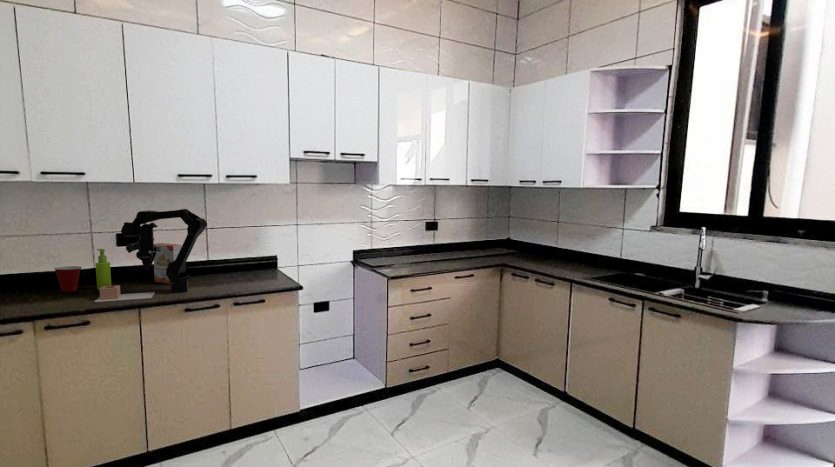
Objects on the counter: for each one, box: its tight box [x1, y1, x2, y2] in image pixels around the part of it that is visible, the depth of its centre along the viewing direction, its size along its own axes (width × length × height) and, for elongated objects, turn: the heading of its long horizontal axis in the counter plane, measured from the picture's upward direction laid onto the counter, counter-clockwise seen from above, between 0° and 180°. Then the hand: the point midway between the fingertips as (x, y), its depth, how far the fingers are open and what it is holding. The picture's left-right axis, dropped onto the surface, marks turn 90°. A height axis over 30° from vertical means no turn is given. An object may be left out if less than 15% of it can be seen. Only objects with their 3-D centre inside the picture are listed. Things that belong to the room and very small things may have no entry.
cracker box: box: [153, 242, 182, 285], centre depth 235 cm, size 14×6×21 cm, turn 72°
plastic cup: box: [53, 265, 83, 293], centre depth 215 cm, size 11×11×12 cm
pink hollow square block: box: [99, 284, 121, 300], centre depth 201 cm, size 7×6×5 cm
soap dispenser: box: [95, 248, 112, 291], centre depth 220 cm, size 6×7×20 cm
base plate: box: [94, 291, 156, 303], centre depth 204 cm, size 22×11×1 cm, turn 113°
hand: (148, 268), depth 214 cm, fingers open, 9 cm apart
